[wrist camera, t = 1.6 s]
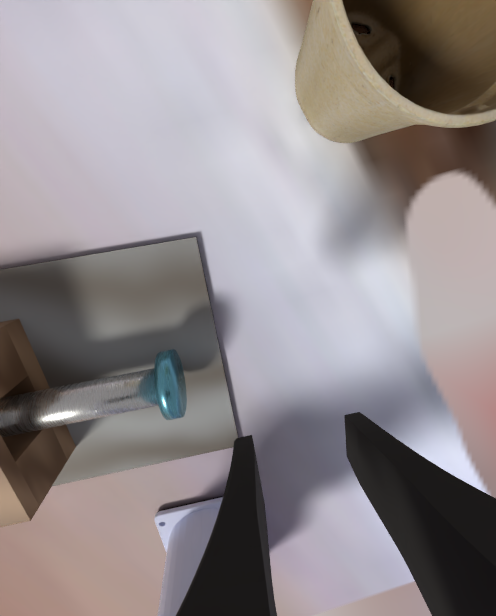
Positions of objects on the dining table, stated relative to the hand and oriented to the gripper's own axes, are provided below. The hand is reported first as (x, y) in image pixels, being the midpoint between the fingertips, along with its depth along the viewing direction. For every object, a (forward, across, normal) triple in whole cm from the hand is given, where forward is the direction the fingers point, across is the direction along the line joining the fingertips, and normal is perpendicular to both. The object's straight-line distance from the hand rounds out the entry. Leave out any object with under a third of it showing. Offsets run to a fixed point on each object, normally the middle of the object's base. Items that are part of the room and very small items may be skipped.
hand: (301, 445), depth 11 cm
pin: (+9, +12, 0) cm, 14 cm away
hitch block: (+9, +14, 0) cm, 17 cm away
